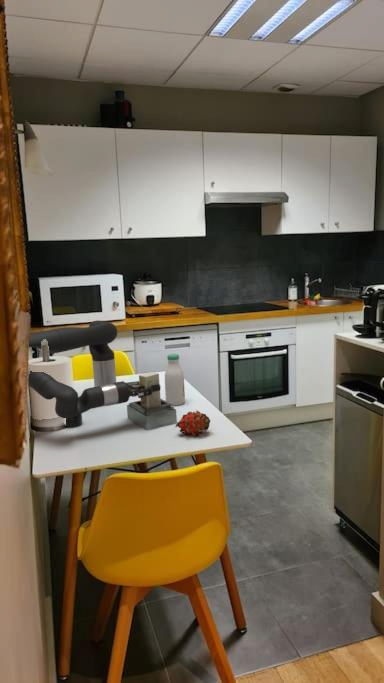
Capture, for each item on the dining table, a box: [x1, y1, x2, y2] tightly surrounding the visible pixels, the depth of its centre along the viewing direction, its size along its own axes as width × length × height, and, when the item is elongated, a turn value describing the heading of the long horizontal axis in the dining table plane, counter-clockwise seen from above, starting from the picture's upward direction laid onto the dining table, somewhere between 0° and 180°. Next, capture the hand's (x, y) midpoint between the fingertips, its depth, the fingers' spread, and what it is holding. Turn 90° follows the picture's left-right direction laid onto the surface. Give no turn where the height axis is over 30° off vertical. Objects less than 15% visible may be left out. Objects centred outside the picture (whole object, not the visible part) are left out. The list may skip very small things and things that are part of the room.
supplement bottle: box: [66, 392, 83, 428], centre depth 181 cm, size 7×7×12 cm
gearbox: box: [126, 398, 178, 431], centre depth 183 cm, size 16×12×6 cm
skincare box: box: [138, 371, 162, 409], centre depth 181 cm, size 6×4×12 cm
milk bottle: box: [164, 353, 186, 407], centre depth 200 cm, size 8×8×20 cm
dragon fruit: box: [175, 410, 211, 437], centre depth 168 cm, size 8×8×12 cm
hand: (156, 385), depth 182 cm, fingers open, 5 cm apart
